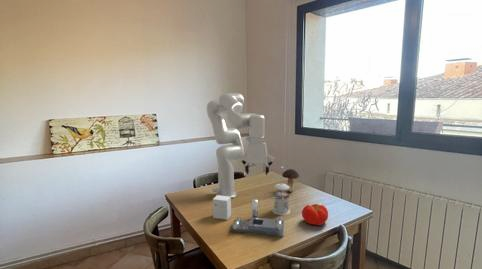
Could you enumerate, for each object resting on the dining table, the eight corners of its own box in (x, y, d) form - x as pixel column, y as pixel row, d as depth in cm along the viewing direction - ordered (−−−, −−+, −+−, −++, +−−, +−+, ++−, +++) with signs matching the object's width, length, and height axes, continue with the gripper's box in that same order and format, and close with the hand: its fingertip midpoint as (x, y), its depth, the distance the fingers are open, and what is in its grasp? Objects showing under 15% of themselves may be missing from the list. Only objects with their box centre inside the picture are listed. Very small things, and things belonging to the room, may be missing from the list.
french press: (270, 213, 143) (270, 168, 139) (275, 204, 154) (275, 162, 150) (288, 216, 140) (289, 169, 136) (292, 207, 151) (293, 163, 146)
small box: (231, 215, 142) (231, 196, 140) (227, 220, 136) (227, 200, 135) (217, 213, 144) (216, 194, 142) (213, 218, 139) (212, 198, 137)
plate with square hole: (230, 232, 125) (230, 221, 124) (235, 223, 133) (234, 212, 132) (283, 237, 120) (283, 226, 119) (283, 227, 129) (284, 216, 128)
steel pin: (251, 219, 137) (251, 201, 135) (252, 216, 140) (252, 198, 138) (257, 220, 136) (257, 201, 134) (258, 217, 139) (258, 199, 137)
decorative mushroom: (301, 190, 175) (301, 168, 172) (295, 196, 166) (296, 172, 163) (285, 187, 181) (285, 165, 178) (278, 192, 171) (279, 170, 169)
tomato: (306, 229, 126) (306, 212, 125) (299, 217, 139) (299, 201, 137) (332, 228, 127) (333, 211, 126) (323, 216, 139) (324, 200, 138)
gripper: (238, 141, 130) (238, 175, 133) (274, 141, 127) (273, 176, 129) (241, 138, 137) (241, 170, 140) (275, 139, 134) (275, 172, 137)
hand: (257, 173), depth 135 cm, fingers open, 9 cm apart
